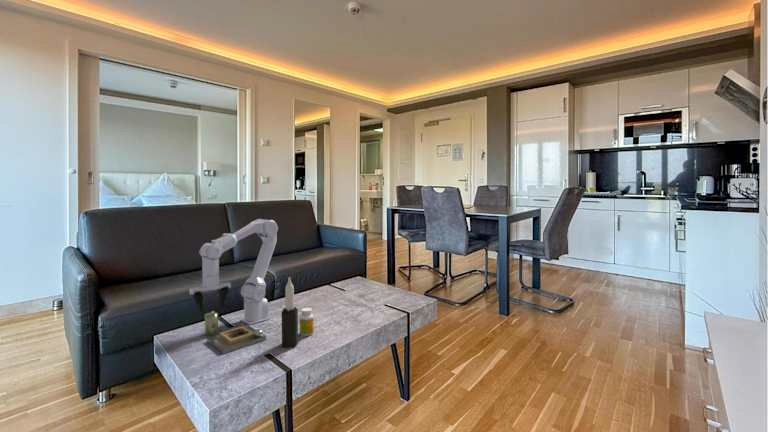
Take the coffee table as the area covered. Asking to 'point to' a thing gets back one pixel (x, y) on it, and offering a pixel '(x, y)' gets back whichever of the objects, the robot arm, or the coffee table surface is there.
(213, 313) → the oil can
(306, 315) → the supplement bottle
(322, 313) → the coffee table surface
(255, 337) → the square peg board
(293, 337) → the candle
